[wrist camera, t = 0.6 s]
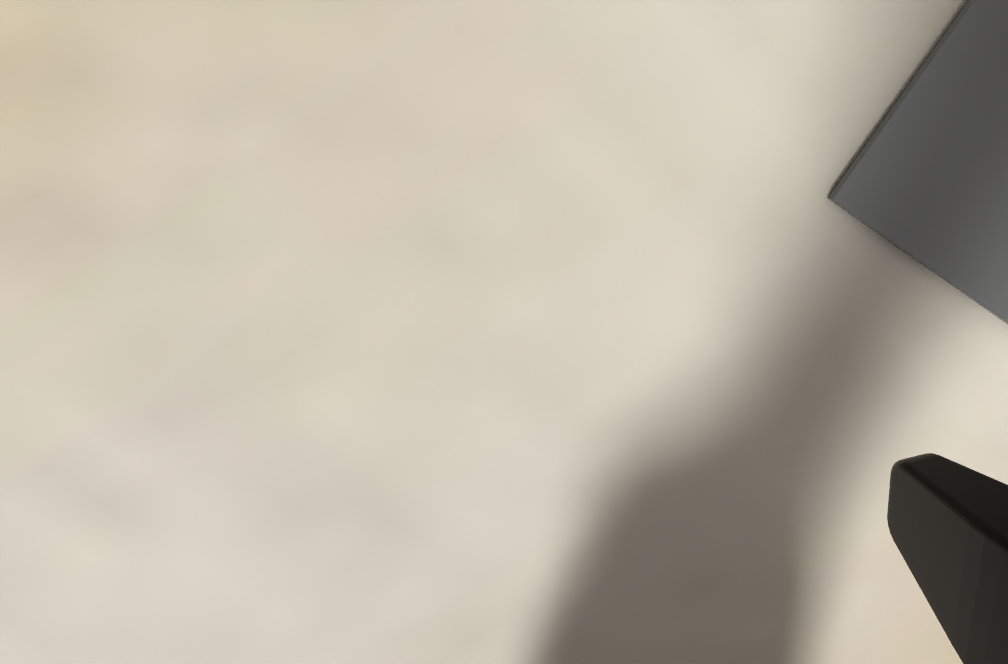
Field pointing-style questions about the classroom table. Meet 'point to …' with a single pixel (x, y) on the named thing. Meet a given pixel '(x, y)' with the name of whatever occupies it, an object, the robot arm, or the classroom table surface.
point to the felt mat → (946, 161)
